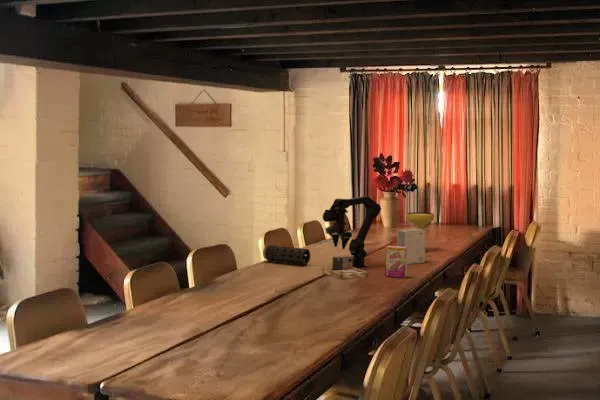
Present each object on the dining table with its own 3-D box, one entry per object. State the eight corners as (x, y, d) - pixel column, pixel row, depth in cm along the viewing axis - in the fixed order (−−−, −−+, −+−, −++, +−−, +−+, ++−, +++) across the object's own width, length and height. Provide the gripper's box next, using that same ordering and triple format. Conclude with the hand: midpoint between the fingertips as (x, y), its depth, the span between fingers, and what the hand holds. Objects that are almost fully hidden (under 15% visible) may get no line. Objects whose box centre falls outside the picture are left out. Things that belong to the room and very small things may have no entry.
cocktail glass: (401, 249, 502) (402, 212, 500) (426, 248, 506) (427, 212, 504) (412, 253, 484) (413, 215, 482) (437, 252, 489) (438, 215, 486)
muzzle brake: (302, 267, 431) (302, 249, 431) (262, 262, 446) (262, 245, 445) (310, 264, 440) (310, 247, 439) (270, 260, 454) (270, 243, 453)
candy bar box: (384, 276, 405) (385, 246, 404) (386, 275, 410) (387, 245, 408) (405, 278, 401) (405, 247, 400) (407, 276, 406) (407, 246, 405)
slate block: (355, 275, 408) (355, 270, 408) (357, 277, 403) (357, 272, 403) (341, 276, 407) (341, 270, 407) (343, 277, 402) (343, 272, 402)
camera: (335, 275, 408) (335, 256, 407) (330, 273, 413) (330, 255, 413) (353, 273, 413) (354, 255, 412) (348, 271, 418) (349, 254, 417)
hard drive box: (417, 260, 457) (418, 228, 455) (425, 262, 450) (426, 230, 449) (396, 262, 450) (397, 229, 449) (403, 264, 444) (404, 231, 442)
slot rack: (349, 270, 422) (349, 266, 422) (368, 276, 404) (368, 272, 404) (322, 272, 415) (322, 268, 415) (340, 279, 396) (340, 274, 396)
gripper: (319, 219, 430) (319, 246, 431) (335, 223, 413) (334, 251, 415) (336, 218, 435) (336, 245, 436) (352, 222, 418) (352, 249, 420)
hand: (339, 247), depth 427 cm, fingers open, 9 cm apart
